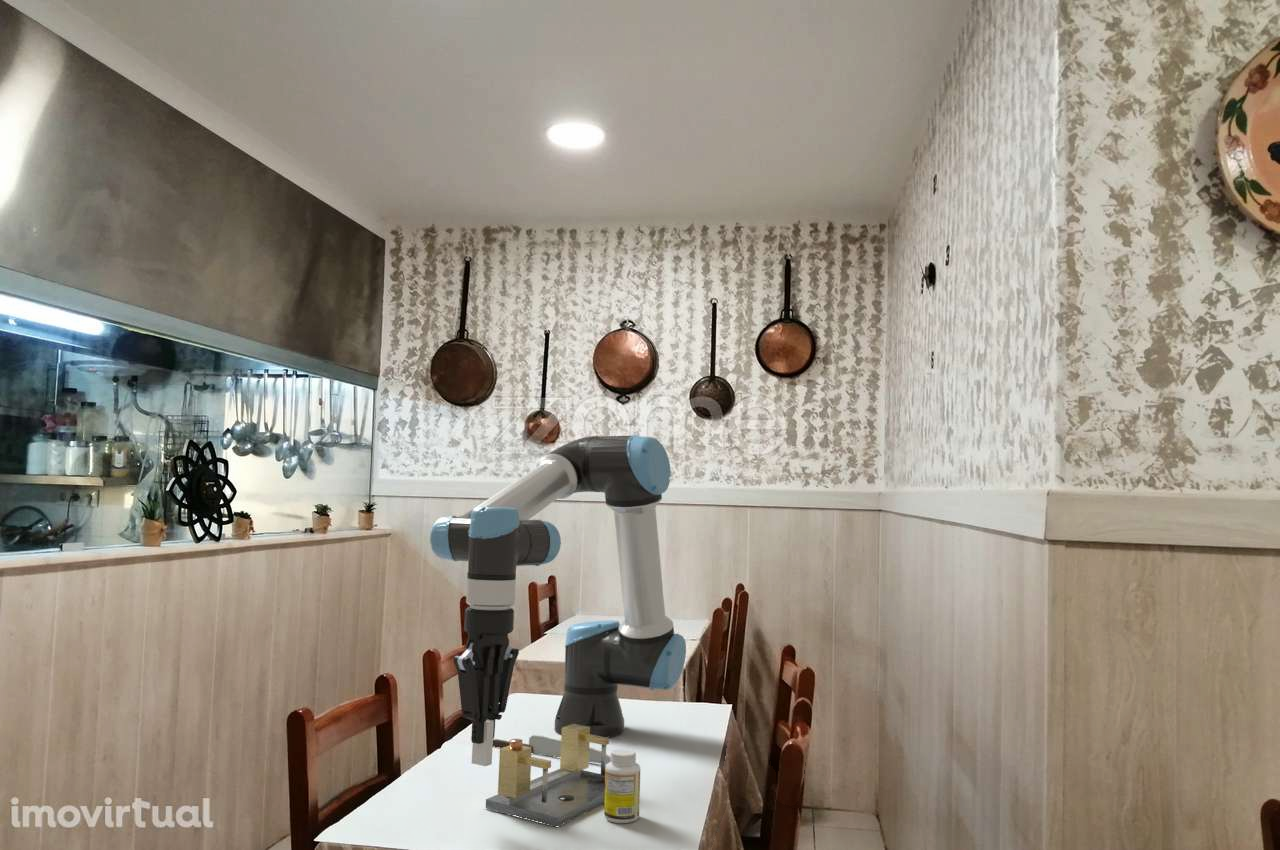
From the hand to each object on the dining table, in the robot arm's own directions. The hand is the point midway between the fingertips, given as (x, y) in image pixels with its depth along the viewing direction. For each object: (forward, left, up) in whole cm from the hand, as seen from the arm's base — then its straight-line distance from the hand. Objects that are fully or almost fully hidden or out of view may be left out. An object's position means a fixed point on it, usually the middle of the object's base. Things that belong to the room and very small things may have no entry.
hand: (481, 763), depth 135 cm
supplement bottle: (-15, +16, -9) cm, 24 cm away
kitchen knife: (-36, -12, -10) cm, 40 cm away
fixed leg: (-25, +2, -7) cm, 26 cm away
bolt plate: (-17, +3, -9) cm, 20 cm away
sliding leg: (-8, +2, -7) cm, 11 cm away
